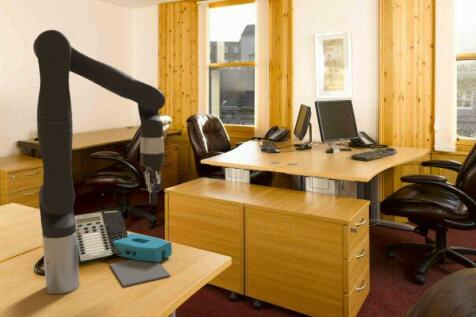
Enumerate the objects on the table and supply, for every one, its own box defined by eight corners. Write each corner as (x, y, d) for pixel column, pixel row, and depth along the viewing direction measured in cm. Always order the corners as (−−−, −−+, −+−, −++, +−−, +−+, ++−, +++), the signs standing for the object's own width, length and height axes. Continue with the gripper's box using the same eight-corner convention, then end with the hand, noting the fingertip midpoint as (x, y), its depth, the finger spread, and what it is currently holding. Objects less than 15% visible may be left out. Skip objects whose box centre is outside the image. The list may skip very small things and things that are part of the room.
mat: (123, 287, 129) (123, 285, 128) (110, 265, 144) (110, 263, 144) (170, 276, 136) (170, 274, 136) (152, 257, 151) (152, 255, 151)
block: (151, 250, 142) (109, 241, 152) (152, 264, 142) (110, 254, 153) (174, 240, 152) (133, 232, 162) (174, 253, 153) (134, 245, 163)
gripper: (135, 148, 140) (136, 199, 143) (147, 154, 129) (148, 209, 131) (156, 147, 144) (157, 197, 146) (170, 152, 132) (171, 206, 135)
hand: (153, 202), depth 139 cm, fingers closed
